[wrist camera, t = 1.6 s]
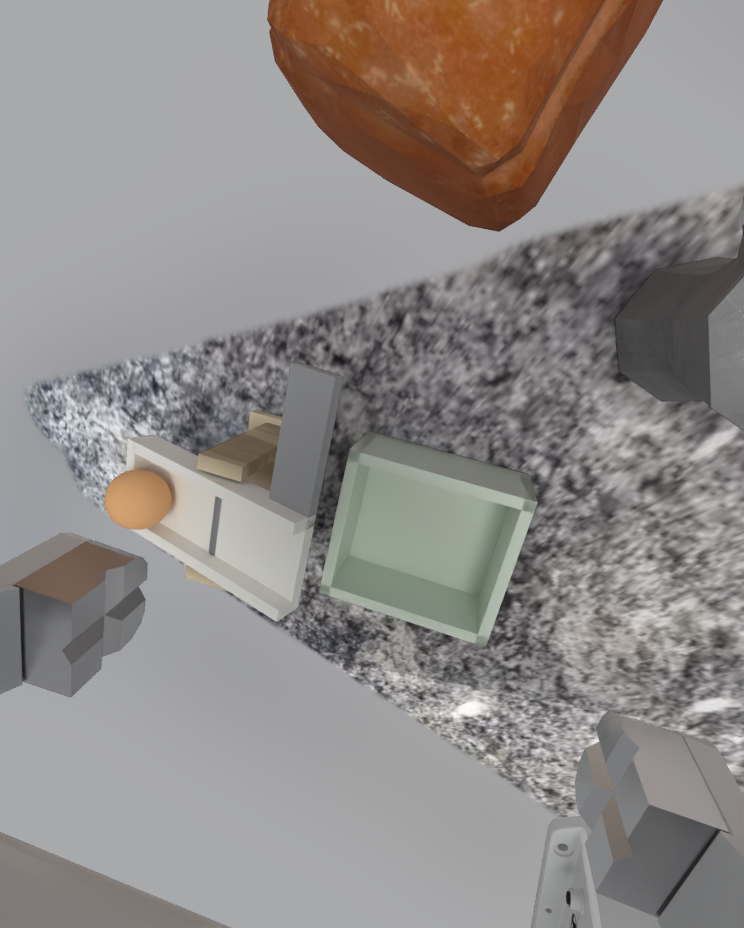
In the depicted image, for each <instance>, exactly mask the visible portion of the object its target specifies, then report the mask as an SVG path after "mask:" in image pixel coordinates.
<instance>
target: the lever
mask: <svg viewBox="0 0 744 928" xmlns="http://www.w3.org/2000/svg"><path fill="white" fill-rule="evenodd" d="M343 379H344V377H343V376H340V375H337V374H334V373H331V372H328V371H325V370H322V369H318V368H315V367H312V366H309V365H306V364H303V363H291V366H290V372H289V378H288V384H287V390H286V396H285V402H284V409H283V415H282V421H281V427H280V433H279V439H278V445H277V452H276V458H275V464H274V470H273V476H272V482H271V488H270V491H268V490H266V489H264V488H262V487H260V486H258V485H256V484H254V483H252V482H250V481H248V480H246V479H245V480H243V481H242V482H239V481H236V480H233V479H229V478H226V477H223V476H219V475H216V474H213V473H209V472H206V471H203V470H199V469H197V463H198V456H197V455H194V454H192V453H190V452H188V451H186V450H184V449H182V448H180V447H178V446H176V445H174V444H172V443H170V442H168V441H166V440H164V439H162V438H160V437H158V436H156V435H148V436H141V437H134V438H128V445H127V462H126V471H130V470H135V469H143V470H148V471H151V472H154V473H156V474H158V475H159V476H160V477H162V478H163V479H164V480H165V482H166V483H167V484H168V486H169V488H170V492H171V505H170V509H169V511H168V513H167V514H166V516H165V517H164V518H163V519H162V520H161V521H160V522H159V523H157V524H156V525H154V526H152V527H150V528H146V529H141V530H133V529H131V530H133V531H134V532H136V533H138V534H139V535H141V536H142V537H144V538H145V539H147V540H149V541H150V542H152V543H153V544H155V545H156V546H158V547H160V548H161V549H163V550H164V551H166V552H167V553H169V554H171V555H172V556H174V557H175V558H177V559H178V560H180V561H182V562H183V563H185V564H186V565H188V566H190V567H191V568H193V569H194V570H196V571H197V572H199V573H201V574H202V575H204V576H205V577H207V578H208V579H210V580H212V581H213V582H215V583H216V584H218V585H219V586H221V587H223V588H224V589H226V590H227V591H229V592H231V593H232V594H234V595H235V596H237V597H238V598H240V599H242V600H243V601H245V602H246V603H248V604H249V605H251V606H253V607H254V608H256V609H257V610H259V611H260V612H262V613H264V614H265V615H267V616H268V617H270V618H272V619H273V620H275V621H276V622H277V621H279V620H280V619H282V618H283V617H285V616H286V615H287V614H289V613H290V612H292V611H293V610H295V609H296V608H298V604H299V599H300V594H301V589H302V584H303V579H304V574H305V569H306V564H307V559H308V554H309V549H310V544H311V539H312V534H313V529H314V524H315V519H316V514H317V509H318V504H319V499H320V494H321V489H322V484H323V479H324V474H325V469H326V464H327V459H328V454H329V449H330V444H331V439H332V434H333V429H334V424H335V419H336V414H337V409H338V404H339V399H340V394H341V389H342V384H343Z"/></svg>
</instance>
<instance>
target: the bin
mask: <svg viewBox="0 0 744 928" xmlns="http://www.w3.org/2000/svg"><path fill="white" fill-rule="evenodd" d="M537 503H538V502H537V498H536V495H535V492H534V488H533V485H532V481H531V478H530V475H528V474H525V473H521V472H517V471H514V470H510V469H506V468H503V467H499V466H495V465H492V464H488V463H484V462H481V461H477V460H473V459H470V458H466V457H462V456H459V455H455V454H452V453H448V452H444V451H441V450H437V449H433V448H430V447H426V446H422V445H419V444H415V443H411V442H408V441H404V440H400V439H397V438H393V437H389V436H386V435H382V434H378V433H375V432H371V431H369V432H368V433H366V434H365V435H364V436H363V437H362V438H361V439H360V440H359V441H358V442H357V443H356V444H355V445H354V446H353V447H352V448H351V449H350V450H349V454H348V459H347V464H346V468H345V473H344V478H343V482H342V487H341V492H340V496H339V501H338V506H337V510H336V515H335V520H334V524H333V529H332V534H331V538H330V543H329V548H328V552H327V557H326V562H325V566H324V571H323V576H322V580H321V585H320V590H319V593H322V594H325V595H328V596H331V597H334V598H337V599H340V600H343V601H347V602H350V603H353V604H356V605H359V606H362V607H365V608H368V609H371V610H374V611H377V612H380V613H383V614H386V615H389V616H392V617H395V618H398V619H401V620H404V621H407V622H410V623H414V624H417V625H420V626H423V627H426V628H429V629H432V630H435V631H438V632H441V633H444V634H447V635H450V636H453V637H456V638H459V639H462V640H465V641H468V642H471V643H474V644H477V645H481V646H484V647H486V645H487V642H488V639H489V636H490V634H491V631H492V628H493V625H494V622H495V620H496V617H497V614H498V611H499V609H500V606H501V603H502V600H503V597H504V595H505V592H506V589H507V586H508V583H509V581H510V578H511V575H512V572H513V570H514V567H515V564H516V561H517V558H518V556H519V553H520V550H521V547H522V545H523V542H524V539H525V536H526V533H527V531H528V528H529V525H530V522H531V520H532V517H533V514H534V511H535V508H536V506H537Z"/></svg>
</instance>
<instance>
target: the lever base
mask: <svg viewBox="0 0 744 928" xmlns="http://www.w3.org/2000/svg"><path fill="white" fill-rule="evenodd" d="M281 421H282V417H281V416H277V415H274V414H270V413H266V412H263V411H259V410H253V411H251V412H250V418H249V425H248V431H247V432H245V433H242V434H240V435H238V436H236V437H234V438H232V439H229V440H227V441H225V442H223V443H221V444H219V445H216V446H214V447H212V448H210V449H208V450H206V451H203V452H201V453H199V454H198V463H197V469H199V470H203V471H206V472H209V473H213V474H216V475H219V476H223V477H226V478H229V479H233V480H236V481H239V482H242V481H243V480H245V479H246V480H248V481H250V482H252V483H254V484H256V485H258V486H260V487H262V488H264V489H266V490H268V491H270V488H271V482H272V476H273V470H274V464H275V458H276V452H277V445H278V439H279V433H280V427H281ZM185 577H186V578H188V579H191V580H194V581H197V582H200V583H203V584H206V585H209V586H212V587H215V588H218V589H220V590H223V591H226V589H224V588H223V587H221V586H219V585H218V584H216V583H215V582H213V581H212V580H210V579H208V578H207V577H205V576H204V575H202V574H201V573H199V572H197V571H196V570H194V569H193V568H191V567H190V566H188V565H186V575H185Z"/></svg>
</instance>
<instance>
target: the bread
mask: <svg viewBox="0 0 744 928" xmlns="http://www.w3.org/2000/svg"><path fill="white" fill-rule="evenodd" d="M662 1H663V0H270V1H269V8H268V18H267V20H268V22H269V24H270V26H271V29H270V37H271V43H272V48H273V53H274V58H275V62H276V64H277V65H278V67H279V68H280V70H281V72H282V73H283V75H284V76H285V78H286V79H287V81H288V82H289V84H290V86H291V87H292V89H293V90H294V92H295V93H296V95H297V96H298V98H299V100H300V101H301V103H302V104H303V106H304V107H305V109H306V110H307V111H308V113H309V114H310V116H311V117H312V118H313V120H314V121H315V123H316V124H317V125H318V127H319V128H320V129H321V130H322V131H323V132H324V133H325V134H326V135H327V136H328V137H329V138H331V140H333V141H334V142H335V143H336V144H337V145H338V146H339V147H340V148H341V149H342V150H343V151H344V152H346V153H347V154H349V155H350V156H352V157H353V158H355V159H356V160H358V161H359V162H360V163H362V164H363V165H365V166H366V167H368V168H369V169H371V170H372V171H374V172H375V173H377V174H378V175H380V176H381V177H383V178H384V179H385V180H387V181H389V182H391V183H392V184H394V185H396V186H398V187H400V188H402V189H403V190H405V191H407V192H409V193H411V194H413V195H415V196H416V197H418V198H420V199H421V200H423V201H425V202H427V203H429V204H431V205H432V206H434V207H436V208H438V209H440V210H441V211H444V212H445V213H447V214H449V215H450V216H452V217H454V218H456V219H458V220H460V221H462V222H463V223H465V224H467V225H469V226H473V227H479V228H483V229H489V230H494V231H501V230H503V229H504V228H506V227H507V226H509V225H511V224H512V223H514V222H516V221H517V220H519V219H520V218H522V217H523V216H524V215H525V214H526V213H528V212H529V211H530V210H531V209H532V208H533V207H535V206H536V205H537V203H538V202H539V200H540V198H541V197H542V195H543V193H544V192H545V190H546V189H547V187H548V185H549V184H550V182H551V180H552V179H553V177H554V176H555V174H556V172H557V171H558V169H559V167H560V166H561V164H562V163H563V161H564V159H565V157H566V156H567V154H568V153H569V151H570V149H571V148H572V146H573V145H574V143H575V141H576V140H577V138H578V137H579V135H580V133H581V132H582V130H583V128H584V127H585V126H586V124H587V122H588V121H589V120H590V118H591V116H592V115H593V113H594V112H595V110H596V109H597V107H598V106H599V104H600V103H601V101H602V99H603V98H604V96H605V95H606V93H607V92H608V90H609V89H610V87H611V86H612V84H613V82H614V81H615V79H616V78H617V76H618V75H619V73H620V72H621V70H622V69H623V67H624V66H625V64H626V63H627V61H628V59H629V58H630V56H631V55H632V53H633V52H634V50H635V49H636V47H637V45H638V44H639V42H640V41H641V39H642V38H643V36H644V34H645V33H646V31H647V29H648V28H649V26H650V24H651V22H652V20H653V18H654V16H655V14H656V13H657V11H658V9H659V7H660V5H661V3H662Z"/></svg>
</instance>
